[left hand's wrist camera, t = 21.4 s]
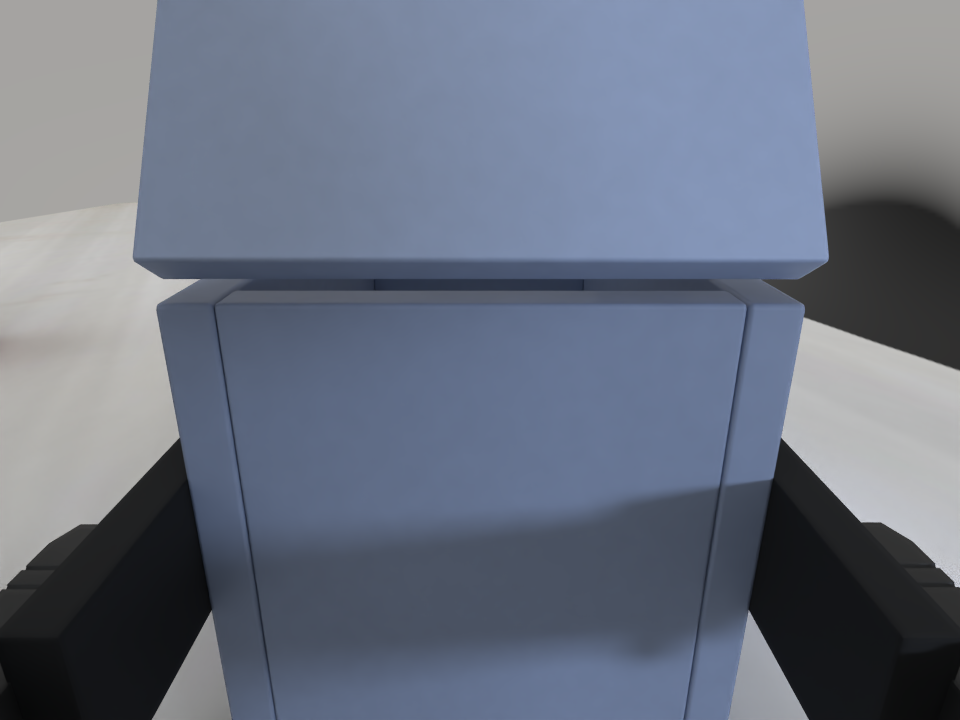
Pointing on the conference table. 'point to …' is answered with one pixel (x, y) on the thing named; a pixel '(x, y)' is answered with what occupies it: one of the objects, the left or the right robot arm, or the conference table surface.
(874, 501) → the conference table surface
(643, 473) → the chest
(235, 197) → the lid
